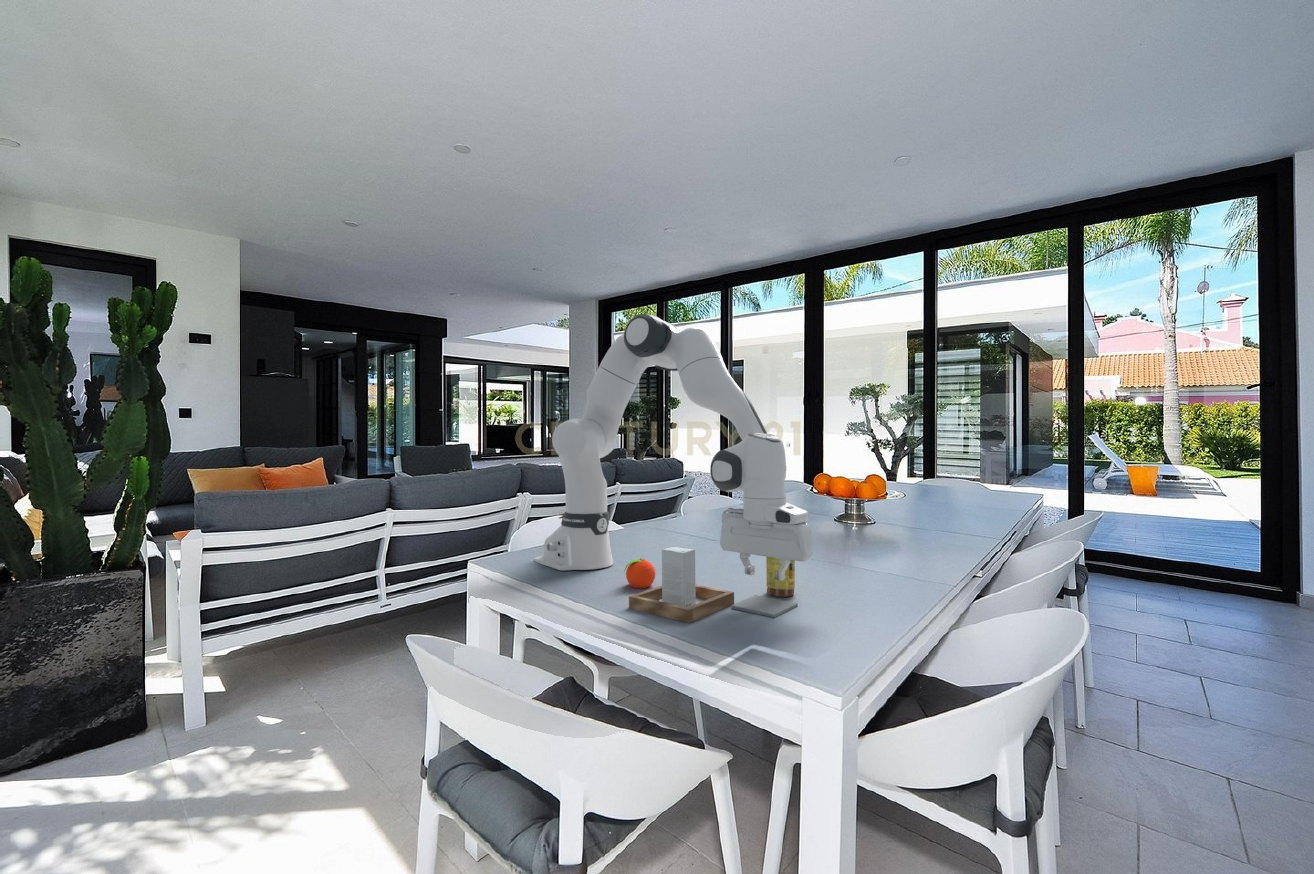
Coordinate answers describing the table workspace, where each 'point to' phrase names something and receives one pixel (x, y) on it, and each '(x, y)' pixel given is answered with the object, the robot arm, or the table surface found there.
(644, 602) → the frame
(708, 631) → the table surface
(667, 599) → the skincare box
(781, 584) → the sauce bottle
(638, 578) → the clementine
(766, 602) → the slate pad
